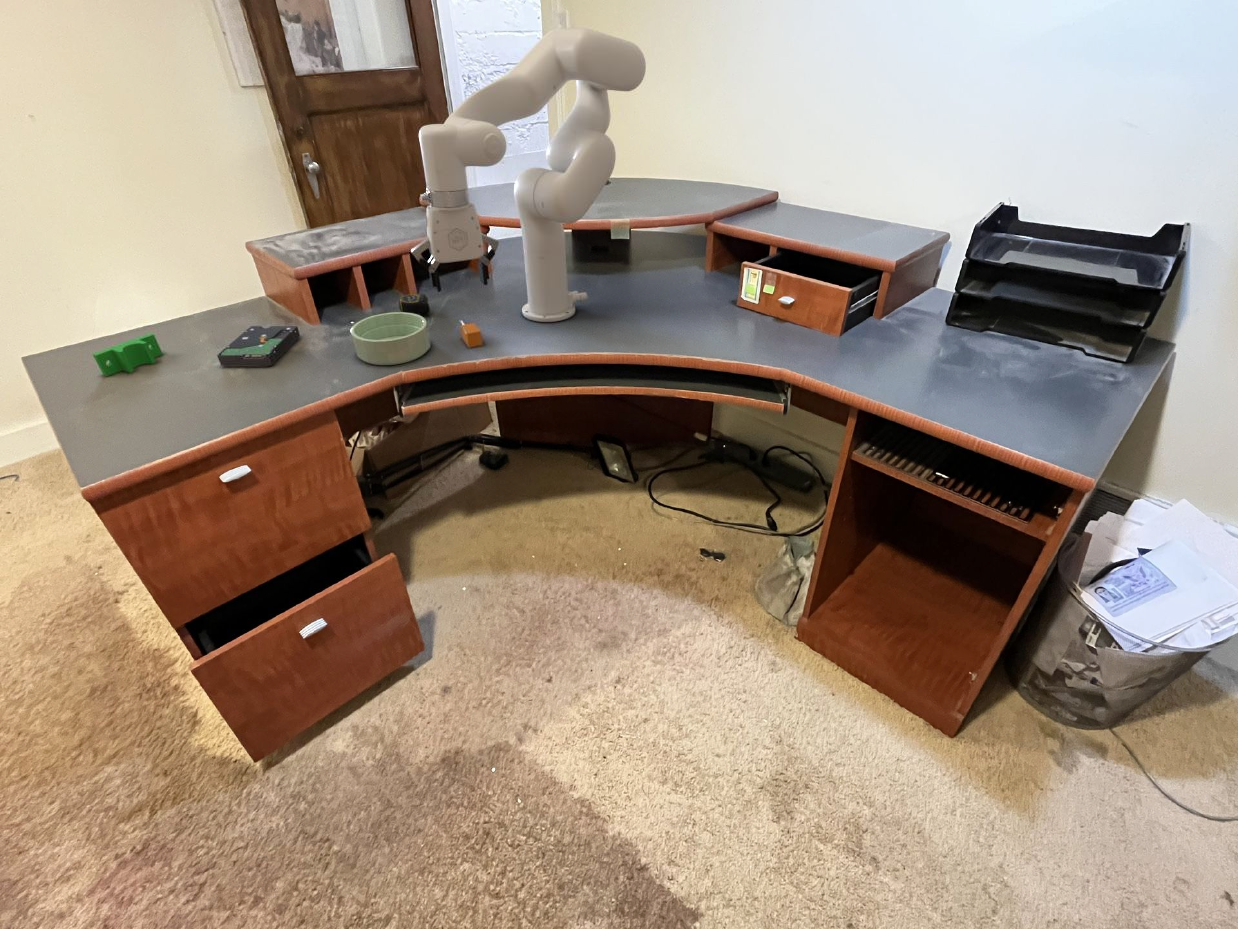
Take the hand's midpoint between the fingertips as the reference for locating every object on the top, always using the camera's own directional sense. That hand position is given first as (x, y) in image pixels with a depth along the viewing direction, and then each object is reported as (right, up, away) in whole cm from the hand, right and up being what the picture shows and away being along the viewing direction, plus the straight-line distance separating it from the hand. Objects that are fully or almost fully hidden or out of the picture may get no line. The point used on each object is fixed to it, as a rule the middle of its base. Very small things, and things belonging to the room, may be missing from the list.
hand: (461, 286), depth 128 cm
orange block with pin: (-1, -9, +9) cm, 12 cm away
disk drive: (-43, -13, +3) cm, 45 cm away
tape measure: (-15, -1, +21) cm, 26 cm away
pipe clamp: (-65, -17, -2) cm, 67 cm away
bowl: (-15, -13, +3) cm, 20 cm away
